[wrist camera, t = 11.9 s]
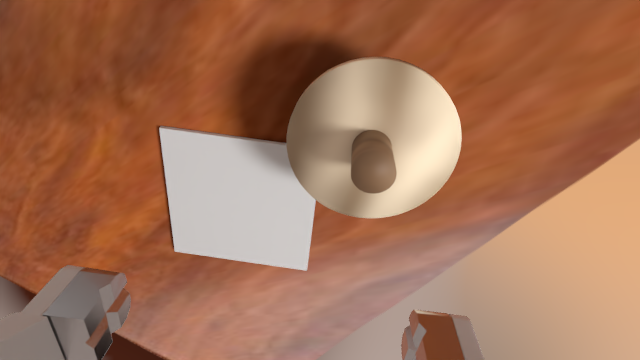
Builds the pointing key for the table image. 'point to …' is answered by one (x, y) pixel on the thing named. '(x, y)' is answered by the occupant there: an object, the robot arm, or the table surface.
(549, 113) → the table surface
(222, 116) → the table surface
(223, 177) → the mat
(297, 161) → the lid
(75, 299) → the robot arm
